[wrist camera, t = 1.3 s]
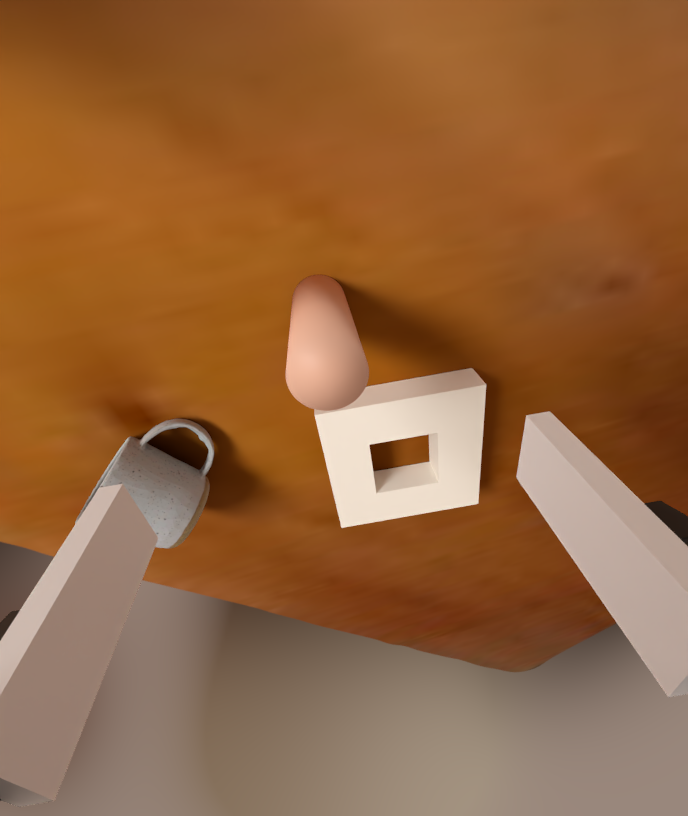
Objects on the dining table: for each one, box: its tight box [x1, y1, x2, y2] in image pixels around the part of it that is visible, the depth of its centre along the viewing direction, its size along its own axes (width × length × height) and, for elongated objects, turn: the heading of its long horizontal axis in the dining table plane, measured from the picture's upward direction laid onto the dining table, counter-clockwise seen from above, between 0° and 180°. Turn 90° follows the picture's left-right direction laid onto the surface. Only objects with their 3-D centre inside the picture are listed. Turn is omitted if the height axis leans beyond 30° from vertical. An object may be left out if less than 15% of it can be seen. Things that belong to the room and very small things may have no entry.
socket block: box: [314, 368, 486, 528], centre depth 35 cm, size 14×14×3 cm
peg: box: [286, 275, 369, 411], centre depth 23 cm, size 4×4×12 cm
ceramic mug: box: [75, 419, 214, 548], centre depth 31 cm, size 11×8×8 cm
